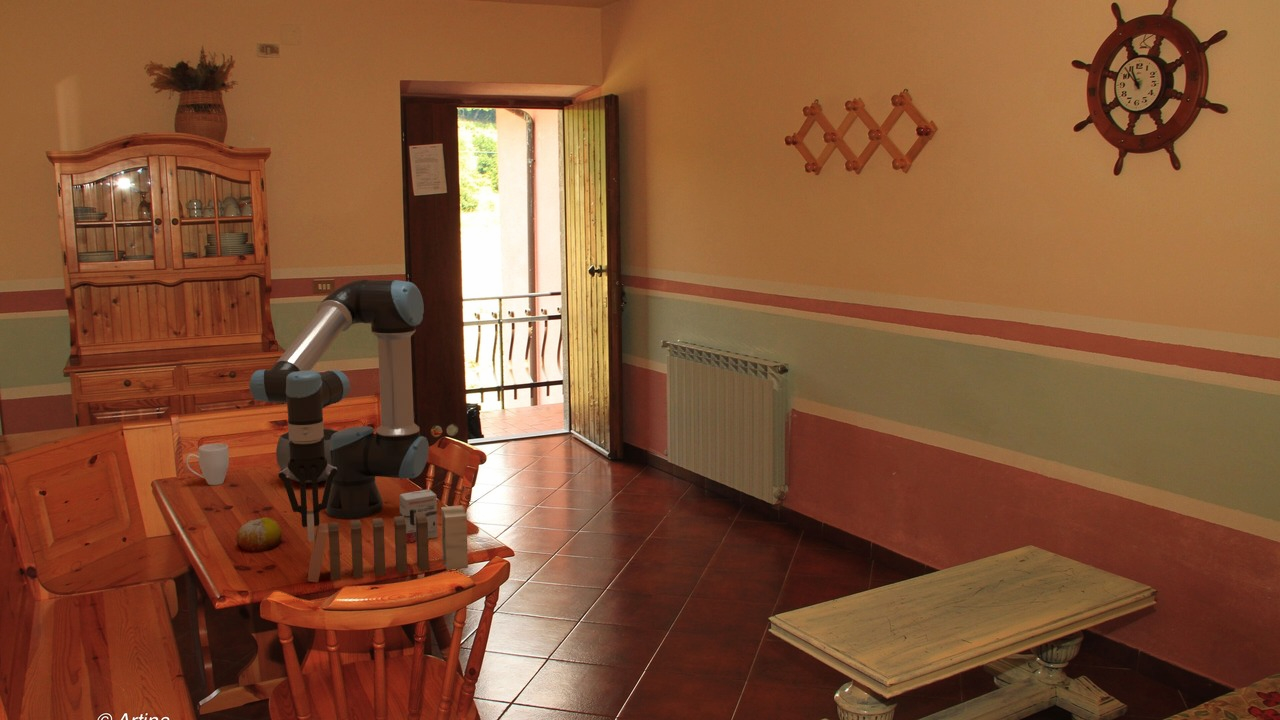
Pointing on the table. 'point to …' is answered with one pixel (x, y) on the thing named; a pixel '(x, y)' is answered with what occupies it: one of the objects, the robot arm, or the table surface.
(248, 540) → the fruit
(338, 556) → the domino
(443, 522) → the bookend block
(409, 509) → the ink box
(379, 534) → the domino
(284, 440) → the bowl
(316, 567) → the domino
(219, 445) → the mug
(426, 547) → the domino
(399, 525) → the domino
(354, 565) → the domino
